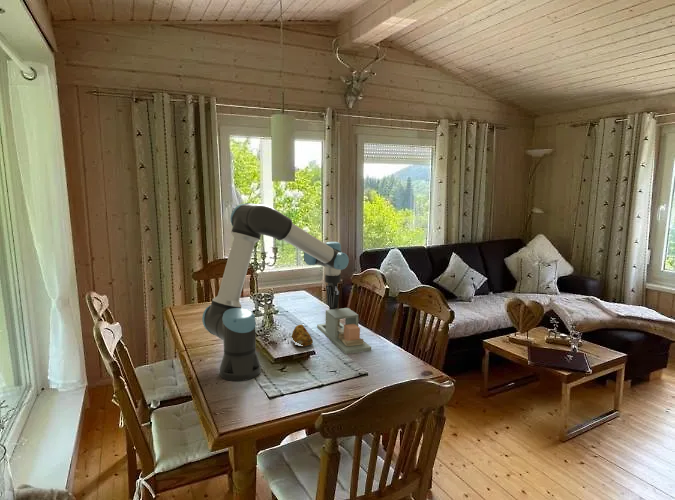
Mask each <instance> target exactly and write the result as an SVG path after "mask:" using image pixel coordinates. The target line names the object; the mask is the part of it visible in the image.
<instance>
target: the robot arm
mask: <svg viewBox="0 0 675 500" xmlns="http://www.w3.org/2000/svg"><path fill="white" fill-rule="evenodd" d="M229 221H230V223H231V226H232V229H231V231H230V232H231V235H232V237H233V238H232V239H233V240H232V243H231V247H230V250H229V253H228V258H227V260H226V261H227V262H226V264H225V268H224V272H223V275H222V279H221V283H220V285H219V290H218V292H217V295H216V296H215V297H213V298H212V300H211V302H210V305H208V306H207V307H206V308H205V309H204V311H203V313H202V318H201V319H202V324H203V327H204V328H205V330H206V331H208V333H210V334H211V335H213V336H216V337H217V338H219V339H220V340H223V355H222V360H221V362H220V365H219V376H220V377H221V378H222V379H223V380H226V381H232V382H241V381H247V380H250V379H254V378H255V377H256V378H257V377H258V375H260V374H261V371H262V369H261V367H262V366H261V362H260V360H259V357H258V354H257V348H256V343H257V342H256V341H257V340H256V337H257V336H256V325H257V322H256V316H255V314H254V312H253V311H252V310H250V309H249V308H248V309H247V308H242V304H241V303H240V298H241V295H242V291H243V287H244V283H245V280H246V276H247V273H248V269H249V266H250V261H251V260H252V259H251V258H252V255H253V252H254V249H255V245H256V243H257V242H260V241H261V237H262V236H265V237H266V236H267V237H270V238H273V239H275V240H277V241H284V242H286V243H287V244H289V245H291V246H293V247H295V248H297V249H298V250H300V251H302V252H304V254H303V260H304V263H305V264H306V265H307V266H321V267H324V273H325V274H324V281H325V283H327V285H325V289H326V301H327V302H326V303H327V306H328V308H329V309H328V310H332V309H339V299H340V293H341V290H339V283H341V282H342V280H341V279H342V278H341V271H342V270H345V269H346V268H347V267H348V265H349V263H350V262H349V261H350V258H349V255H347V253H346V252H343V251H342V244H341V243H340V242H338V241H327V242H325V243H324V242H323V241H322V240H320V239H318V238H317V237H315V236H313V235H312V234H311V233H309V232H307V231H305V230H304V229H302V228H300V227H299V226H297V225H296V224H294V223H293V220H292V219H291V218H289V217H288V216H287V215H285V214H284V213H281V212H280V211H278V210H277V209H276V208H273V207H272V206H270V205H268V204H263V203H262V204H261V203H260V204H259V203H251V202H247V203H246V202H245V203H241V204H238V205H237V206H236V207H235V208H234V209H233V210H232V211H231V213H230V219H229Z"/></svg>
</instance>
